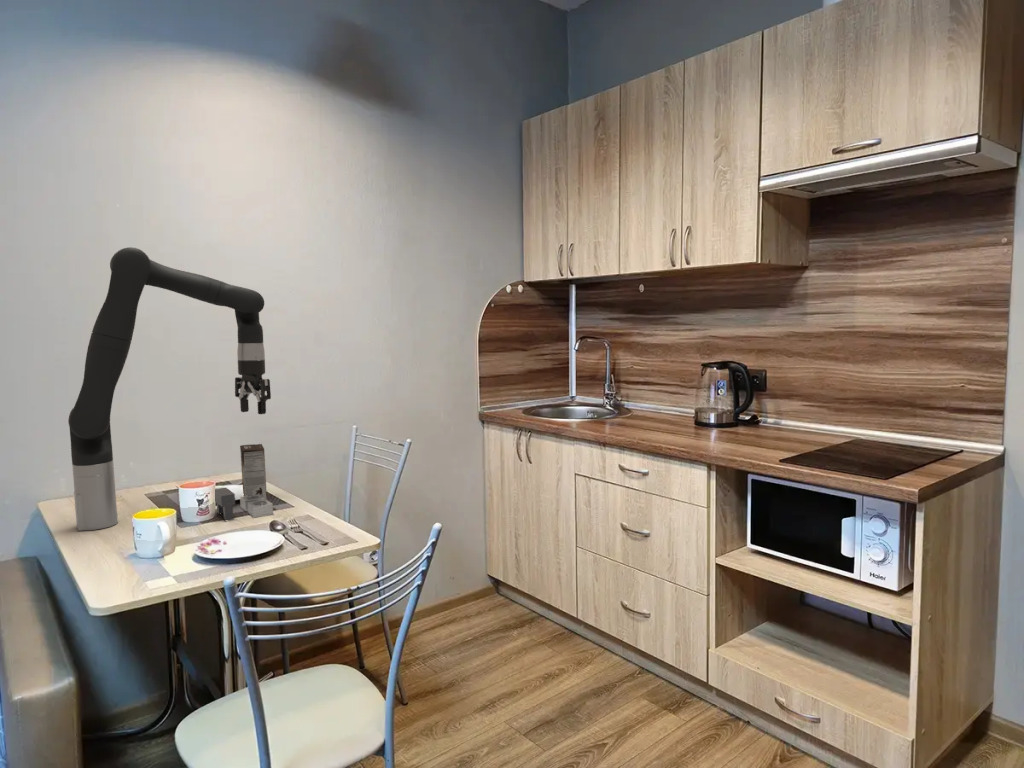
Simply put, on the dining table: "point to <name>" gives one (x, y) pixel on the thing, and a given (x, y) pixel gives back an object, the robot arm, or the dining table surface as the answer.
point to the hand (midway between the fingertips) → (253, 412)
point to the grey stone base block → (256, 505)
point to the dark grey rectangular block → (225, 502)
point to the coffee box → (253, 470)
